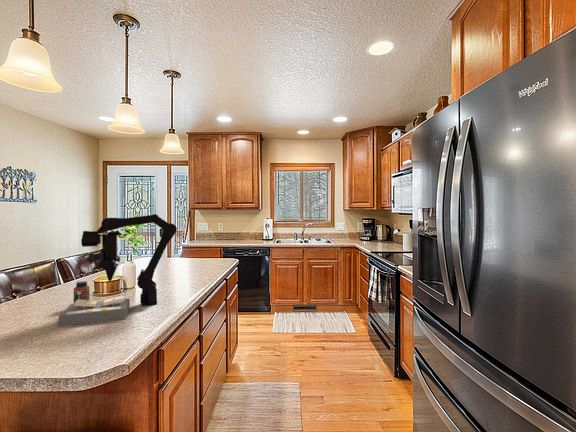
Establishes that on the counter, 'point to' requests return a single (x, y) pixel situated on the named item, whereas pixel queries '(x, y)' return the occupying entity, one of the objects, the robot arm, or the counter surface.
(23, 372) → the counter surface
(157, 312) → the counter surface
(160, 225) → the robot arm
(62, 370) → the counter surface
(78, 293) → the supplement bottle
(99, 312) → the console
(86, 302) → the panel
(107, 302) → the block
